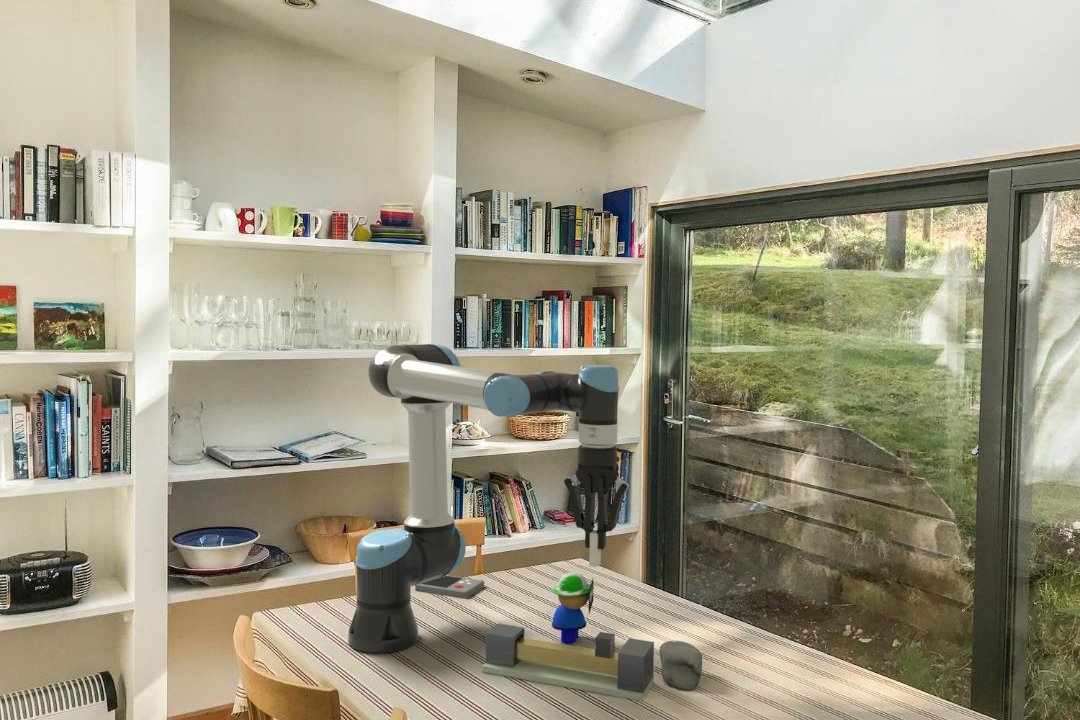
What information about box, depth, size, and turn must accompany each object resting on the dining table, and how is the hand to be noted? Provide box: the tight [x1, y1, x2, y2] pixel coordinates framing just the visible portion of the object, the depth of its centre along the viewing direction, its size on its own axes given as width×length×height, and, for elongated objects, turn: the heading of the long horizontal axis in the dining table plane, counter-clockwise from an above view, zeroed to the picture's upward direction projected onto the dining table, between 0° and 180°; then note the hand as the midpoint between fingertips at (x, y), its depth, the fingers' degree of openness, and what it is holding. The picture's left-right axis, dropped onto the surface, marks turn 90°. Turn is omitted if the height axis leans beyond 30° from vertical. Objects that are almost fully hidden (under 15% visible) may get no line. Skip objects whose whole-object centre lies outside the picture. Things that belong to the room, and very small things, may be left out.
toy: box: [551, 571, 595, 645], centre depth 189 cm, size 9×9×15 cm
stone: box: [658, 640, 703, 692], centre depth 170 cm, size 9×9×10 cm
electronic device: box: [414, 574, 485, 599], centre depth 223 cm, size 10×2×15 cm
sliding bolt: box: [515, 631, 618, 676], centre depth 169 cm, size 28×3×7 cm, turn 69°
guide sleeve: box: [485, 623, 525, 668], centre depth 174 cm, size 6×6×6 cm
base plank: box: [481, 660, 655, 702], centre depth 170 cm, size 33×9×1 cm, turn 69°
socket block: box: [617, 637, 655, 694], centre depth 164 cm, size 5×8×7 cm, turn 159°
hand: (595, 564), depth 166 cm, fingers closed
